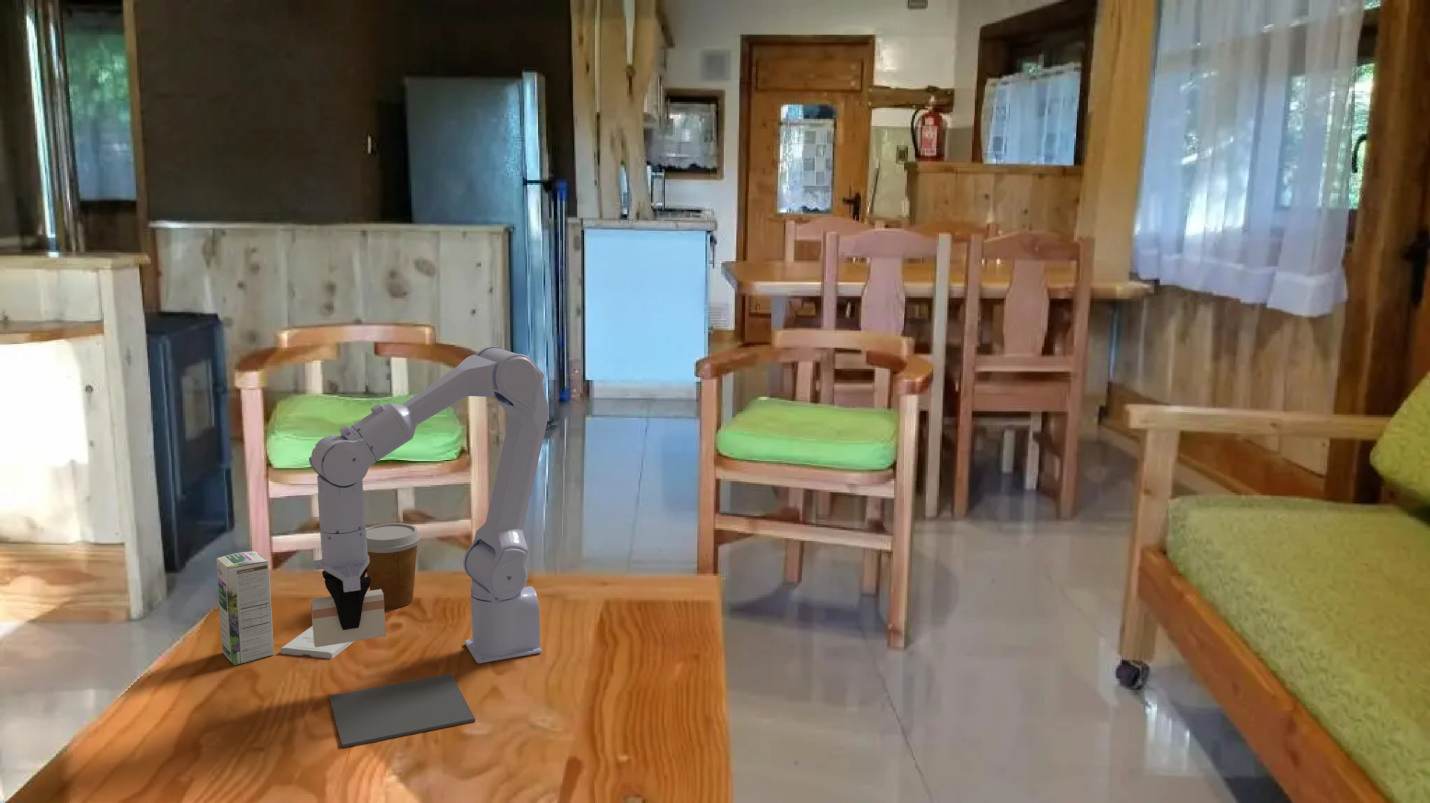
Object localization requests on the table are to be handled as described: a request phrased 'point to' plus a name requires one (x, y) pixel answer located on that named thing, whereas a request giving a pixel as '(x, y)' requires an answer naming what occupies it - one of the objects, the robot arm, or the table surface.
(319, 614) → the card deck
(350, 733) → the mat
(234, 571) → the syrup box
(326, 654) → the external hard drive
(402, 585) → the disposable coffee cup
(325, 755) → the table surface
